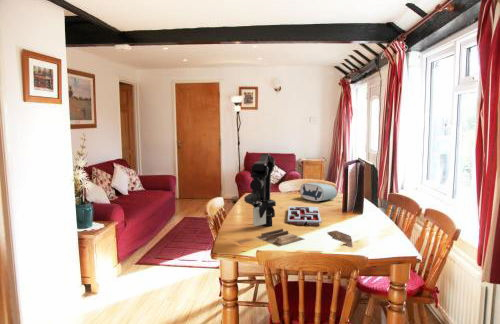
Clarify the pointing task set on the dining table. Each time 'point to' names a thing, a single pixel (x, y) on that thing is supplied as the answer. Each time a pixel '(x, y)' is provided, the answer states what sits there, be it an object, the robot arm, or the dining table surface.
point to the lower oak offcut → (287, 241)
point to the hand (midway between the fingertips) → (259, 217)
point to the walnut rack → (275, 237)
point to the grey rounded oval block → (317, 191)
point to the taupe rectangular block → (258, 217)
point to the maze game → (304, 215)
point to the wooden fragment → (341, 237)
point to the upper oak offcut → (286, 237)
